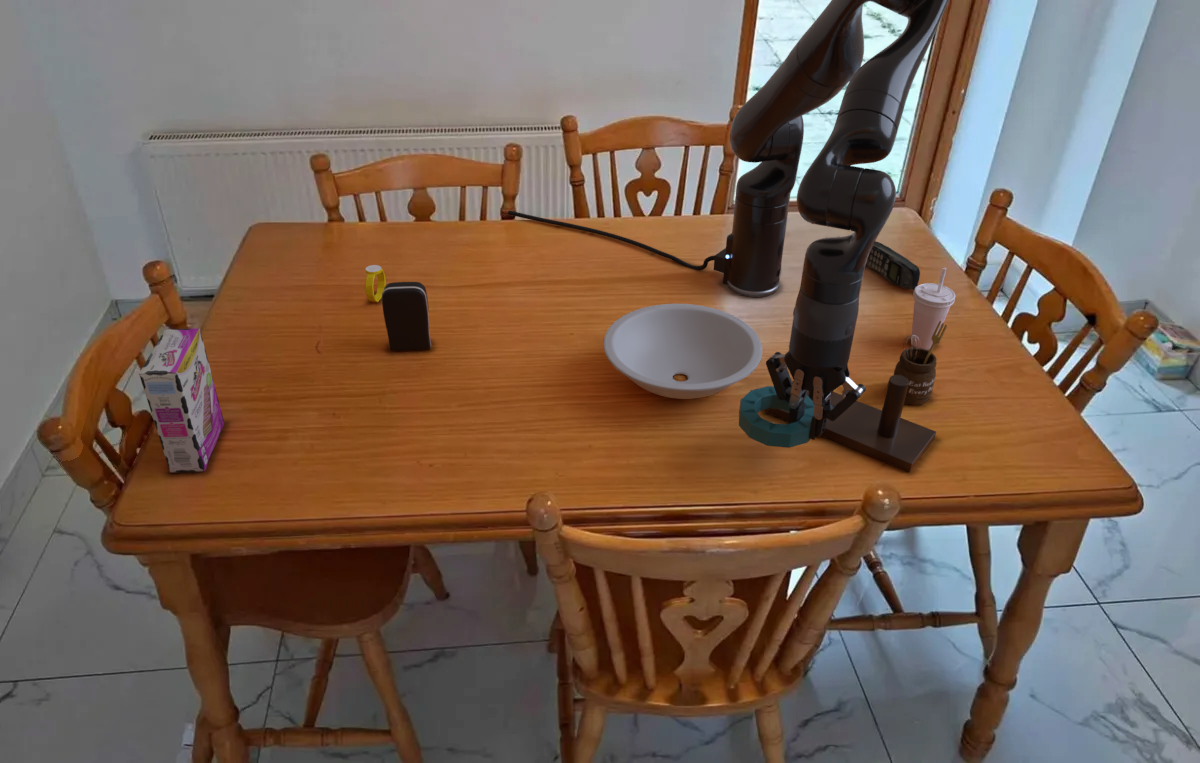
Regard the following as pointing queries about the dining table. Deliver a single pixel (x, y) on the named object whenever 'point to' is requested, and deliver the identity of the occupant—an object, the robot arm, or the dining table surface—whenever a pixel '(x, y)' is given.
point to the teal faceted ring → (767, 430)
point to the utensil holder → (919, 369)
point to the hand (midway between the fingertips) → (805, 431)
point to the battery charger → (406, 316)
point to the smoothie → (930, 310)
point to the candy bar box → (183, 399)
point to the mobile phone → (893, 266)
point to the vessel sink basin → (682, 349)
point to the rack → (878, 428)
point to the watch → (369, 284)
